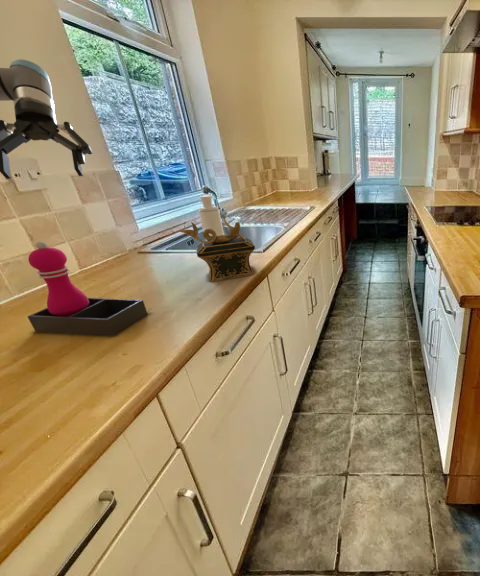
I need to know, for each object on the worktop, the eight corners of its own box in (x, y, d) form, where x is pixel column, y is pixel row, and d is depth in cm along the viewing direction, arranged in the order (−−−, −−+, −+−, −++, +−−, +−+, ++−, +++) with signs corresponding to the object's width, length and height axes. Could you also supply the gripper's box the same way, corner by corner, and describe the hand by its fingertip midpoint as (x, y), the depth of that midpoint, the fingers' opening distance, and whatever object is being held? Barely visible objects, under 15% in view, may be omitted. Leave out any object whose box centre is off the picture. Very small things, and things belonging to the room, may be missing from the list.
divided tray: (36, 333, 74) (27, 316, 72) (78, 312, 83) (71, 296, 82) (114, 337, 72) (106, 320, 71) (148, 315, 82) (142, 299, 80)
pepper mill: (55, 320, 78) (17, 241, 70) (93, 310, 83) (61, 235, 75) (56, 331, 73) (15, 248, 65) (96, 320, 78) (62, 241, 70)
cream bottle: (221, 261, 120) (205, 193, 110) (206, 259, 122) (189, 192, 112) (232, 255, 126) (218, 190, 116) (218, 254, 128) (203, 190, 117)
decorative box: (255, 266, 115) (245, 211, 107) (260, 275, 107) (249, 216, 99) (192, 276, 106) (176, 217, 98) (192, 286, 98) (175, 223, 90)
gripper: (99, 124, 95) (110, 180, 89) (-23, 121, 83) (-19, 186, 77) (89, 101, 89) (100, 161, 83) (-45, 95, 77) (-42, 164, 71)
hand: (43, 173), depth 80 cm, fingers open, 13 cm apart
